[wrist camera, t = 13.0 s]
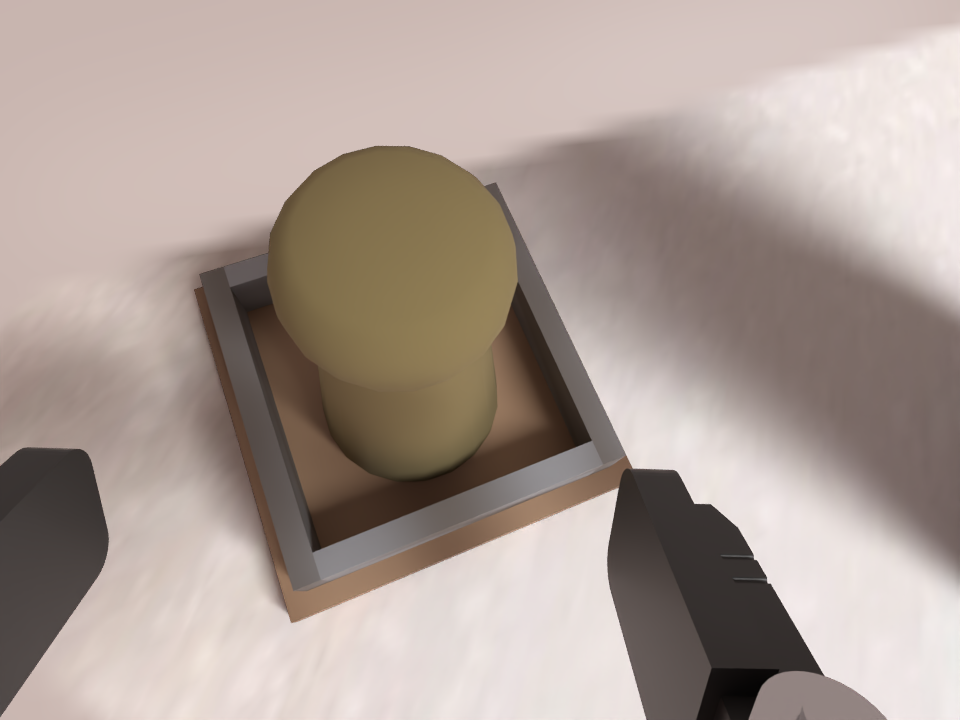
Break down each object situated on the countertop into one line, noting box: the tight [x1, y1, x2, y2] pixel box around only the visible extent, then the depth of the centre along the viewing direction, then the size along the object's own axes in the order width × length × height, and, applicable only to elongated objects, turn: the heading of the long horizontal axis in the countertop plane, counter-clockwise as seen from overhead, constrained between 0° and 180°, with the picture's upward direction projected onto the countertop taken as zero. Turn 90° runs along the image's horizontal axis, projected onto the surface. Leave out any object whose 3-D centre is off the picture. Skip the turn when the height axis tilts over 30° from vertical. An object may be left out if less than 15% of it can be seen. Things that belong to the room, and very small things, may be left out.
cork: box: [267, 146, 518, 482], centre depth 17 cm, size 6×6×11 cm
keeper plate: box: [194, 183, 632, 623], centre depth 22 cm, size 12×12×3 cm
